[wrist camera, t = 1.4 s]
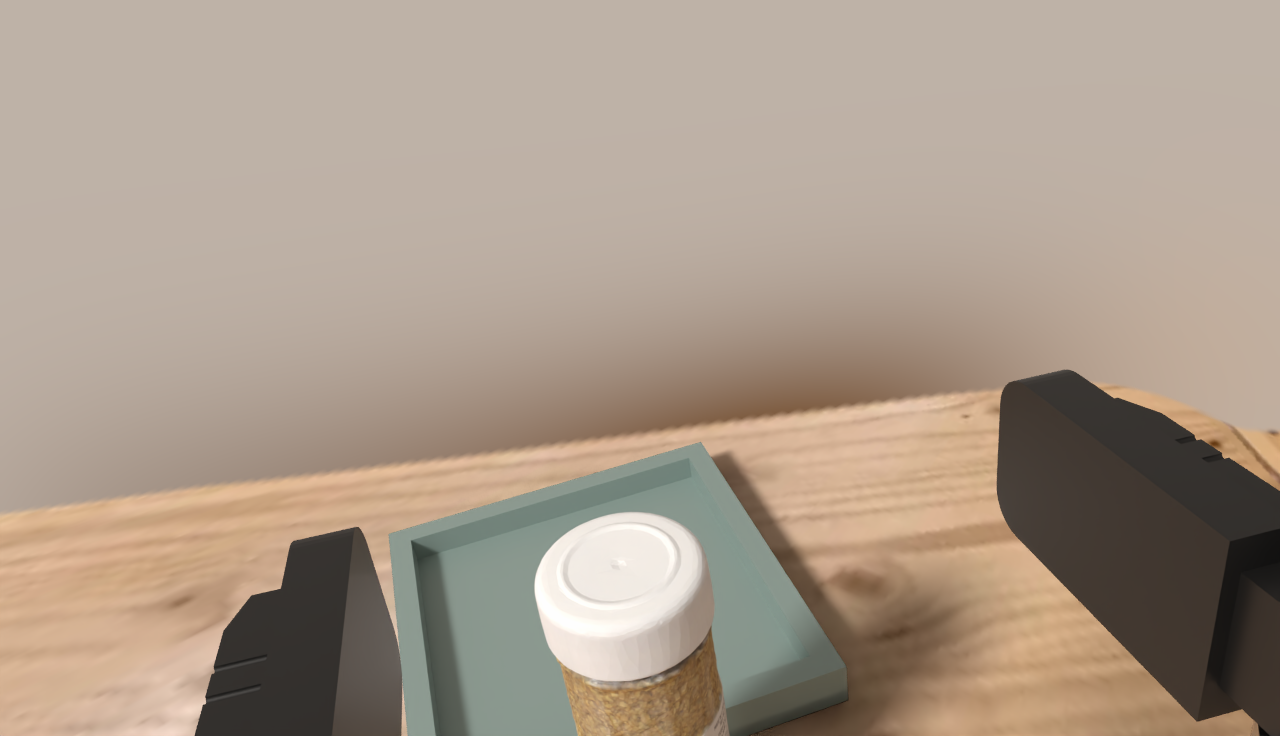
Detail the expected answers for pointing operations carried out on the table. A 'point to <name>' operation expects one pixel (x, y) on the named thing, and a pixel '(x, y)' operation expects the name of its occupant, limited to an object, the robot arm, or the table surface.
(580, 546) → the spice jar
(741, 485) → the table surface
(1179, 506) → the robot arm
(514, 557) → the tray
